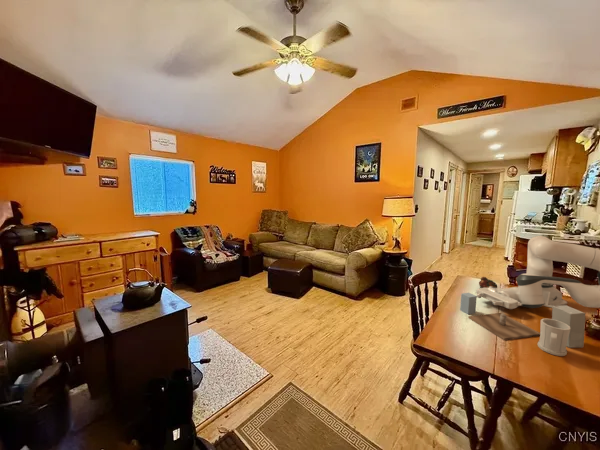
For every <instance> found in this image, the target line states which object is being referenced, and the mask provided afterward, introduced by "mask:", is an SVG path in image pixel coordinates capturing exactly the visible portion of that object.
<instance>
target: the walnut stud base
mask: <svg viewBox="0 0 600 450" xmlns="http://www.w3.org/2000/svg"><path fill="white" fill-rule="evenodd" d="M467 317H468V319H469V320H470V321H472V322H474V323H475V324H478V325H479V326H480V327H481V328H483V329H485V330H486V331H488V332H490V333H492V334H493V335H495V336H496V337H498V338H499V339H501V340H503V341H508V340H516V339H524V338H531V337H532V336H534V337H540V336H539V335H540V332H539V331H537V330H536V329H534V328H531V327H529V326H527V325H525V324H523V323H522V322H519V321H518V320H517V319H514V318H512V317H510V316H508V315H506V314H505V313H503V312H496V313H487V314H475V315H469V316H468V315H467ZM532 338H533V337H532Z"/></svg>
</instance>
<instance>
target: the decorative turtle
mask: <svg viewBox="0 0 600 450" xmlns="http://www.w3.org/2000/svg"><path fill="white" fill-rule="evenodd" d="M478 285H479V288H489V287H490V286H492V287H497V288H498V284H497V283H496V282H495V281H493V280H491V279H488V278H487V277H486V276H482V277H480V280H479V282H478Z"/></svg>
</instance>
